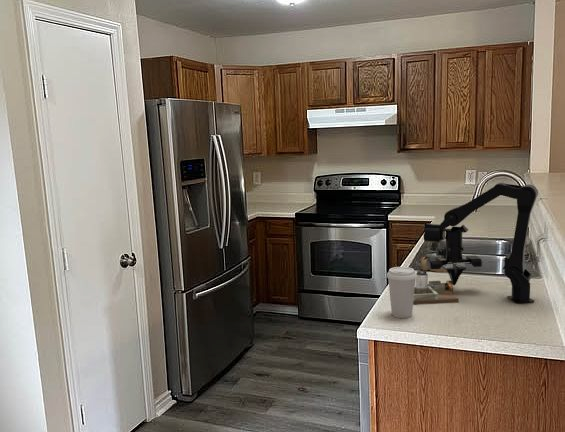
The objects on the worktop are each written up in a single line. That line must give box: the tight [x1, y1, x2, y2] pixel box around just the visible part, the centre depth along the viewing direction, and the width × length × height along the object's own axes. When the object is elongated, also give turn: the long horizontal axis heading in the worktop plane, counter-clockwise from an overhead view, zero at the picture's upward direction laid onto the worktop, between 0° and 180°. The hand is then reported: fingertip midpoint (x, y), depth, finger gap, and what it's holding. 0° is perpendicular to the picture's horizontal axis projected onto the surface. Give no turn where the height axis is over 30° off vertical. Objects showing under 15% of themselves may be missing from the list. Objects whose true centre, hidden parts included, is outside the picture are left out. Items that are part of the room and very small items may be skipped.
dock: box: [413, 280, 460, 306], centre depth 182 cm, size 14×16×4 cm
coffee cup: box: [386, 266, 417, 319], centre depth 165 cm, size 10×10×15 cm
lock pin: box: [427, 279, 454, 293], centre depth 186 cm, size 4×9×4 cm, turn 91°
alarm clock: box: [415, 256, 452, 273], centre depth 219 cm, size 11×5×15 cm
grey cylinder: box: [415, 270, 429, 294], centre depth 179 cm, size 4×4×9 cm
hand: (453, 285), depth 186 cm, fingers closed
